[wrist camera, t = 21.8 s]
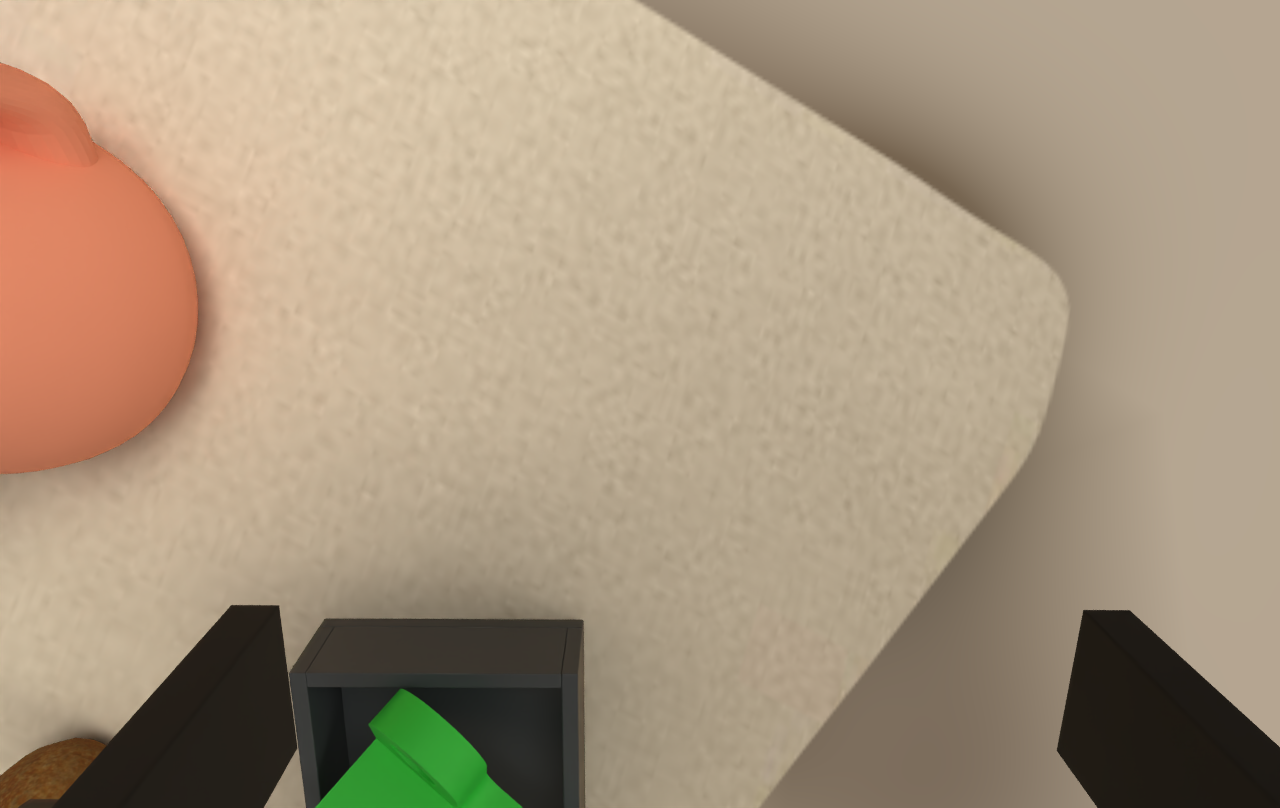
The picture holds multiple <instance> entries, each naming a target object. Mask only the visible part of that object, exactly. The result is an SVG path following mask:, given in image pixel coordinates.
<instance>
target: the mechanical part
mask: <svg viewBox="0 0 1280 808" xmlns="http://www.w3.org/2000/svg"><path fill="white" fill-rule="evenodd" d="M368 725H369V727H370V728H371V730H372V732H373V734H374V735H375V737H376V739H375V740H374V742H373V743H372V744H371V745H370V746H369V747H368V748H367V749H366V751H365V752H364V753H363V754H362V755H361V756H360V757H359V759H358V760H357V761H356V762H355V763H354V764H353V765H352V766H351V768H350V769H349V770H348V771H347V772H346V773H345V774H344V775H343V777H342V778H341V779H340V780H339V781H338V782H337V783H336V785H335V786H334V787H333V788H332V789H331V790H330V791H329V792H328V794H327V795H326V796H325V797H324V798H323V799H322V800H321V802H320V803H319V804H318V805H317V806H316V807H315V808H523V807H522V806H520V805H519V804H518V803H517V802H516V801H515V800H513V799H512V798H511V797H510V796H509V795H508V794H507V793H505V792H504V791H503V790H502V789H501V788H500V787H499V786H498V785H497V784H496V783H495V782H494V781H493V780H492V779H491V778H490V777H489V776H488V774H487V765H486V763H485V761H484V759H483V758H482V757H481V756H480V754H479V753H478V752H477V751H476V750H475V749H474V748H473V746H472V745H471V744H470V743H469V742H468V741H467V740H466V739H465V738H464V737H463V736H462V735H461V734H460V733H459V732H458V731H457V730H456V729H454V728H453V727H452V726H451V725H450V724H449V723H448V722H447V721H446V720H445V719H443V718H442V717H441V716H440V715H439V714H438V713H436V712H435V711H434V710H433V709H432V708H430V707H429V706H428V705H427V704H425V703H424V702H423V701H421V700H420V699H419V698H417V697H416V696H414V695H413V694H411V693H410V692H408V691H406V690H404V689H400V690H399V691H398V692H397V693H396V694H395V695H394V696H393V697H392V699H391V700H390V701H389V702H388V703H387V704H386V705H385V706H384V707H383V709H382V710H381V711H380V712H379V713H378V714H377V715H376V716H375V717H374V719H373V720H372V721H371V722H370V723H369V724H368Z"/></svg>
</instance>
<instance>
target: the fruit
mask: <svg viewBox="0 0 1280 808" xmlns="http://www.w3.org/2000/svg"><path fill="white" fill-rule="evenodd" d="M106 746H107V745H105V744H103V743H100V742H98V741H96V740H92V739H83V738H73V739H69V740H64V741H60V742H57V743H53V744H50V745H47V746H44V747H41V748H39V749H37V750H35V751H33V752H32V753H30V754H28V755H26V756H25V757H24V758H22V759H21V760H20V761H18V762H17V763H16V764H14V765H13V766H12V767H10V768H9V769H8V770H7V771H6V772H4V773H3V774H2V775H1V776H0V808H18V807H19V806H21V805H22V804H23V803H25V802H26V801H28V800H29V799H60V797H61V796H62V795H63V794H64V793H65V792H66V791H67V790H68V788H69V787H70V786H71V785H72V784H73V783H74V782H75V781H76V779H77V778H78V777H79V776H80V775H81V774H82V773H83V772H84V770H85V769H86V768H87V767H88V766H89V765H90V764H91V763H92V761H93V760H94V759H95V758H96V757H97V756H98V755H99V754H100V752H101V751H102V750H103V749H104V748H105V747H106Z"/></svg>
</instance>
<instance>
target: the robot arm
mask: <svg viewBox="0 0 1280 808" xmlns="http://www.w3.org/2000/svg"><path fill="white" fill-rule="evenodd" d="M296 749H297V742H296V734H295V726H294V719H293V711H292V703H291V695H290V687H289V680H288V672H287V664H286V656H285V648H284V641H283V633H282V625H281V617H280V609H279V606H273V605H231V606H230V607H229V609H228V610H227V611H226V612H225V613H224V614H223V615H222V616H221V618H220V619H219V620H218V621H217V622H216V623H215V624H214V625H213V626H212V628H211V629H210V630H209V631H208V632H207V633H206V634H205V635H204V637H203V638H202V639H201V640H200V641H199V642H198V643H197V644H196V646H195V647H194V648H193V649H192V650H191V651H190V652H189V653H188V655H187V656H186V657H185V658H184V659H183V660H182V661H181V662H180V664H179V665H178V666H177V667H176V668H175V669H174V670H173V671H172V673H171V674H170V675H169V676H168V677H167V678H166V679H165V680H164V682H163V683H162V684H161V685H160V686H159V687H158V688H157V689H156V691H155V692H154V693H153V694H152V695H151V696H150V697H149V698H148V700H147V701H146V702H145V703H144V704H143V705H142V706H141V707H140V709H139V710H138V711H137V712H136V713H135V714H134V715H133V716H132V718H131V719H130V720H129V721H128V722H127V723H126V724H125V725H124V727H123V728H122V729H121V730H120V731H119V732H118V733H117V734H116V736H115V737H114V738H113V739H112V740H111V741H110V742H109V743H108V745H107V746H106V747H105V748H104V749H103V750H102V751H101V752H100V754H99V755H98V756H97V757H96V758H95V759H94V760H93V761H92V763H91V764H90V765H89V766H88V767H87V768H86V769H85V770H84V772H83V773H82V774H81V775H80V776H79V777H78V778H77V779H76V781H75V782H74V783H73V784H72V785H71V786H70V787H69V788H68V790H67V791H66V792H65V793H64V794H63V795H62V796H61V797H60V799H29V800H28V801H26V802H25V803H23V804H22V805H21V806H19V807H18V808H264V806H265V804H266V803H267V801H268V799H269V797H270V796H271V794H272V792H273V790H274V788H275V787H276V785H277V783H278V781H279V780H280V778H281V776H282V774H283V772H284V771H285V769H286V767H287V765H288V764H289V762H290V760H291V758H292V756H293V755H294V753H295V751H296ZM1057 751H1058V753H1059V754H1060V756H1061V757H1062V758H1063V759H1064V761H1065V763H1066V764H1067V766H1068V767H1069V768H1070V770H1071V771H1072V773H1073V774H1074V775H1075V777H1076V778H1077V779H1078V781H1079V782H1080V784H1081V785H1082V787H1083V788H1084V789H1085V791H1086V792H1087V794H1088V795H1089V796H1090V798H1091V799H1092V801H1093V802H1094V803H1095V805H1096V806H1097V808H1280V747H1279V746H1278V745H1277V744H1276V743H1275V742H1273V741H1272V740H1271V739H1270V738H1269V737H1268V736H1267V735H1266V734H1265V733H1264V732H1263V731H1261V730H1260V729H1259V728H1258V727H1257V726H1256V725H1255V724H1254V723H1253V722H1252V721H1250V720H1249V719H1248V718H1247V717H1246V716H1245V715H1244V714H1243V713H1242V712H1241V711H1239V710H1238V709H1237V708H1236V707H1235V706H1234V705H1233V704H1232V703H1231V702H1229V700H1227V699H1226V698H1225V697H1224V696H1223V695H1222V694H1221V693H1220V692H1219V691H1217V690H1216V689H1215V688H1214V687H1213V686H1212V685H1211V684H1210V683H1209V682H1208V681H1207V680H1205V679H1204V678H1203V677H1202V676H1201V675H1200V674H1199V673H1198V672H1197V671H1196V670H1194V669H1193V668H1192V667H1191V666H1190V665H1189V664H1188V663H1187V662H1186V661H1184V660H1183V659H1182V658H1181V657H1180V656H1179V655H1178V654H1177V653H1176V652H1175V651H1174V650H1172V649H1171V648H1170V647H1169V646H1168V645H1167V644H1166V643H1165V642H1164V641H1163V640H1162V639H1161V638H1159V637H1158V636H1157V635H1156V634H1155V633H1154V632H1153V631H1152V630H1151V629H1150V628H1148V627H1147V626H1146V625H1145V624H1144V623H1143V622H1142V621H1141V620H1140V619H1139V618H1137V617H1136V616H1135V615H1134V614H1133V613H1132V612H1131V611H1129V610H1119V611H1118V610H1083V616H1082V620H1081V626H1080V631H1079V637H1078V642H1077V647H1076V652H1075V658H1074V663H1073V668H1072V673H1071V678H1070V684H1069V689H1068V694H1067V700H1066V705H1065V710H1064V716H1063V721H1062V726H1061V731H1060V736H1059V742H1058V747H1057Z"/></svg>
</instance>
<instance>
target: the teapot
mask: <svg viewBox="0 0 1280 808" xmlns="http://www.w3.org/2000/svg"><path fill="white" fill-rule="evenodd" d="M197 325H198V298H197V289H196V280H195V276H194V271H193V267H192V263H191V259H190V256H189V253H188V250H187V248H186V245H185V242H184V240H183V237H182V235H181V233H180V232H179V230H178V228H177V226H176V224H175V222H174V220H173V218H172V217H171V215H170V214H169V212H168V211H167V209H166V208H165V207H164V205H163V204H162V202H161V201H160V199H159V198H158V197H157V196H156V195H155V193H154V192H153V191H152V190H151V189H150V188H149V187H148V186H147V184H146V183H145V182H144V181H143V180H142V179H141V178H140V177H139V176H137V175H136V174H135V173H134V172H133V171H132V170H131V169H129V168H128V167H127V166H126V165H125V164H124V163H123V162H121V161H120V160H118V159H117V158H116V157H114V156H113V155H111V154H110V153H109V152H107V151H106V150H104V149H103V148H101V147H100V146H98V145H97V144H95V143H94V142H92V140H91V137H90V135H89V132H88V129H87V127H86V124H85V123H84V121H83V119H82V118H81V116H80V115H79V113H78V112H77V110H76V109H75V107H74V106H73V105H72V104H71V102H70V101H68V100H67V99H66V98H65V97H64V96H63V95H61V94H60V93H59V92H58V91H57V90H55V89H54V88H53V87H51V86H50V85H49V84H48V83H46V82H44V81H42V80H40V79H38V78H36V77H34V76H32V75H30V74H28V73H26V72H24V71H22V70H20V69H17V68H14V67H12V66H9V65H6V64H3V63H0V474H13V473H24V472H34V471H40V470H46V469H52V468H56V467H60V466H64V465H68V464H72V463H76V462H80V461H83V460H87V459H90V458H92V457H95V456H97V455H99V454H102V453H104V452H107V451H109V450H111V449H113V448H115V447H117V446H119V445H121V444H122V443H124V442H126V441H127V440H129V439H131V438H132V437H134V436H135V435H137V434H138V433H139V432H141V431H142V430H143V429H144V428H145V427H147V426H148V425H149V424H150V423H151V422H153V420H154V419H155V418H156V417H157V416H158V415H159V414H160V413H161V411H162V410H163V409H164V408H165V407H166V406H167V404H168V402H169V401H170V399H171V398H172V396H173V395H174V393H175V392H176V390H177V389H178V386H179V384H180V382H181V380H182V378H183V376H184V374H185V372H186V369H187V367H188V365H189V361H190V358H191V355H192V351H193V348H194V344H195V338H196V331H197Z"/></svg>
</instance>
